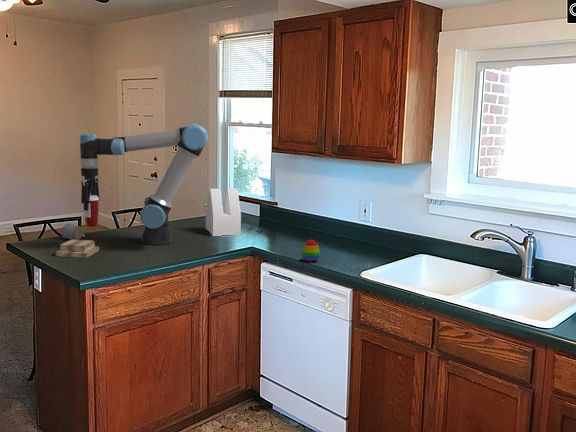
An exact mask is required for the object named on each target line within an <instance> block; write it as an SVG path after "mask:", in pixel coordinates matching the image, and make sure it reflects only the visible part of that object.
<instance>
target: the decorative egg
mask: <svg viewBox="0 0 576 432" xmlns="http://www.w3.org/2000/svg"><path fill="white" fill-rule="evenodd" d="M301 255H302V258H303V261H305V262H306V261H316V262H317V261H318V260H319V258H320V255H321V251H320V246H319V245H318V242H316V241H315V240H314V239H309V240H307V241H306V242H305V244H304V245H303V247H302V251H301Z"/></svg>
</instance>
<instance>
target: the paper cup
mask: <svg viewBox="0 0 576 432" xmlns="http://www.w3.org/2000/svg"><path fill="white" fill-rule="evenodd" d="M99 199H100V197H99V198H98V196H95V195H91V194H90V200H89V203H90V215H91V217H84V222H85V223H84V224H85V226H86V227H87V228H88V227H89V228H92V227H93V228H94V227H98V226H99V201H100V200H99ZM82 206H83V207H82V208H84V203H82Z"/></svg>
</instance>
